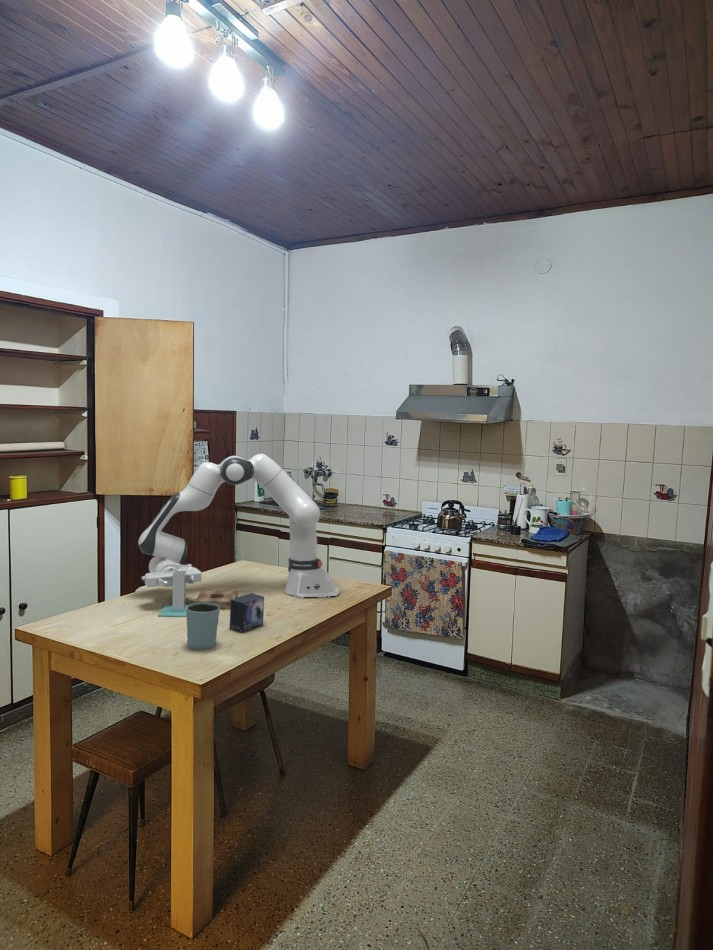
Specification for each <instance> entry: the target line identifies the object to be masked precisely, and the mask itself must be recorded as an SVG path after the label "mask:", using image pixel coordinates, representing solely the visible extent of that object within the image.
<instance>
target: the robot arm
mask: <svg viewBox="0 0 713 950" xmlns="http://www.w3.org/2000/svg"><path fill="white" fill-rule="evenodd" d="M251 479H252V480H253V481H255V483H257V484H258V485H259V486H260V487H261V489H263V490H264V492H266V494H267V495H269V496H270V497H271V499H272V500H273V501H275V503H276V504H277V505H278V506H279V507H280V508H281V509H282V510H283V511H284V512H285V513H286V515H288V516H289V557H288V560H287V571H288V575H287V581H286V585H285V589H284V593H285V594H287V595H290V596H293V595H294V596H293V597H296V596H297V597H296V598H298V597H300V598H299V599H305V598H304V597H318V598H331V597H330V596H336V597H338V596H339V595H340V589H339V587H337V586H336V585H335V581H334V578H333V576H332V574H330V573H329V572H328V571H326V570H325V568H324V569H323V561H322V560H321V559H320V558H318V557H317V552H318V537H317V535H318V534H317V524H318V522H319V521H320V519H321V510H320V508H319V506H318V505H317V503H316V502H315V501H314V500H313V499H312V498H310V496H309V495H308V494H307V493H306V492H305V491H304V489H302V488H301V487H300V486H299V485H298V484H297V483H296V482H295V480H294V479H292V478H291V476H289V474H288V473H287V472H286V471H285V470H284V469H283V468H282V466H280V465H279V464H278V463H277V462H276V461H274V460H273V458H271V457H269V456H268V455H267V454H264V453H258V454H255V455H254V456H252V457H251V458H250V459H245V458H244V457H241V456H240V455H230V456H227V457H225V458H224V459H223V460H222V461H220V462H218V463H217V464H216V463H214V462H210V461H205V462H203V463H201V464H200V465H199V466H198V467H197V469H196V470H195V472H194V473H193V475H192V476H191V478H190V480H189V482H188V483H187V485H186V487H184V488H183V490H181V491H180V492H178V493H173V494H172V495H171V497H169V499H168V500H167V501H166V503H164V505H163V507H162V508H161V509H160V511H159V512H158V513H157V515H156V516H155V517H154V519H153V520H152V521H151V522H150V524H149V525H148V526H147V527H146V528H145V529H144V530H143V532H142V533H141V535H140V536H139V539H138V542H137V545H138V548H139V550H140V552H141V553H142V554H145V555H149V556H152V558H151V559H150V560H149V564H148V570H149V572H147V573H145V575H143V576H141V580H142V581H144V584H145V586H146V587H147V588H151V587H152V588H153V587H163V588H165V587H173V573H174V571H186V584H190V585H191V584H194V583H199V582H202V571H201V570H199V569H198V568H196V567H194V566H193V565H192V564H191V563H184V562H185V560H186V557H187V555H188V545H187V542H186V540H185V539H184V538H181V537H178V536H175V535H172V534H169V533H166V532H164V531H162V530H163V529H164V527H165V526H166V525H167V523H169V521H170V519H171V518H172V517H173V516H174V515H175V514H176V513H179V512H185V511H186V512H197V511H202V510H204V509H206V508H207V507H209V506H210V504H211V502H212V501H213V499H214V498H215V495H216V492H217V490H218V489H219V487H220V486H221V485H222V484H223V483H227V484H229V485H232V486H239V485H241V484H243V483H245V482H247V481H249V480H251ZM153 556H154V557H153ZM338 594H339V595H338ZM337 595H338V596H337ZM327 596H328V597H327Z"/></svg>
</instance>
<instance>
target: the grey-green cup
mask: <svg viewBox="0 0 713 950" xmlns="http://www.w3.org/2000/svg"><path fill="white" fill-rule="evenodd" d="M187 605H188V606H187V607H186V616H187V617H186V630H187V631H186V637H187V640H186V642H187V643H186V644H187V647H188V648H190V649H192V650H199V651H200V650H207V649H211V648H213V647H215V646H216V643H217V635H218V634H217V632H218V624H219V616H220V612H221V611H220V606H219V605H217V604H214V603H205V602H203V603H195V602H194V603H190V604H187Z"/></svg>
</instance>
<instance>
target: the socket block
mask: <svg viewBox="0 0 713 950" xmlns="http://www.w3.org/2000/svg"><path fill="white" fill-rule="evenodd" d="M238 595H239V591H238V590H237V591H235V590H200V593H199V594H198V596H197V597H196V598H195V600H194V603H203V602H205V603H214V604H217V605H219V606H220V609H222V610H223V611H224V610H225V609H227V611H230V605H231V599H233V598H237V597H239V596H238ZM225 611H226V610H225Z"/></svg>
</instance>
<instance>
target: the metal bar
mask: <svg viewBox="0 0 713 950" xmlns="http://www.w3.org/2000/svg"><path fill="white" fill-rule="evenodd" d="M186 598H187V583H186V571H174V573H173V586H172V604H171V605H172V612H184V611H185V609H186V605H187V601H186V600H187V599H186Z"/></svg>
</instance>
